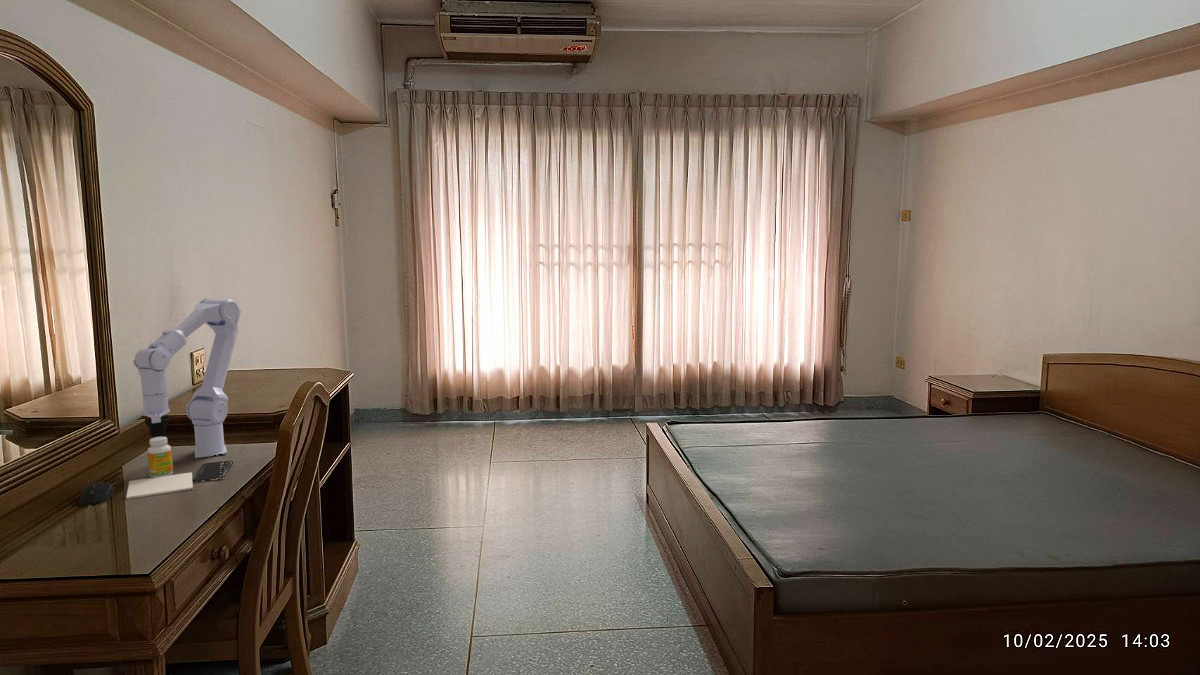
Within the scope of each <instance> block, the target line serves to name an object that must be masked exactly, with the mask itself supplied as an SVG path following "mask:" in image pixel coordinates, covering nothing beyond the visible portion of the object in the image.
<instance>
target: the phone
mask: <svg viewBox="0 0 1200 675" xmlns="http://www.w3.org/2000/svg"><path fill="white" fill-rule="evenodd" d="M223 462H224V464H223V465H221V464H220V463H223ZM229 462H232V464H233V462H234V461H233V460H226V461H216V462H215V461H214V462H213V461H212V462H206V463H205V462H204V463H202V464H201V465H200V466H199V468H198V470H197V471H196V472H195V474H194V476H192V481H194V482H193V483H197V482H196V481H202V480H205V481H209V479H216V478H223V477H226V475H227V474H228V472H229V470H230V468H231V466H232V464H231V463H229ZM226 463H227V464H226ZM230 464H231V465H230ZM220 465H221V466H222V468H221V467H220ZM223 466H225V467H223ZM220 468H221V469H220ZM224 468H225V469H224ZM220 470H221V471H220ZM230 471H231V470H230ZM220 472H222V473H220ZM229 473H230V472H229ZM220 475H221V477H219V476H220ZM228 475H229V474H228Z"/></svg>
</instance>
